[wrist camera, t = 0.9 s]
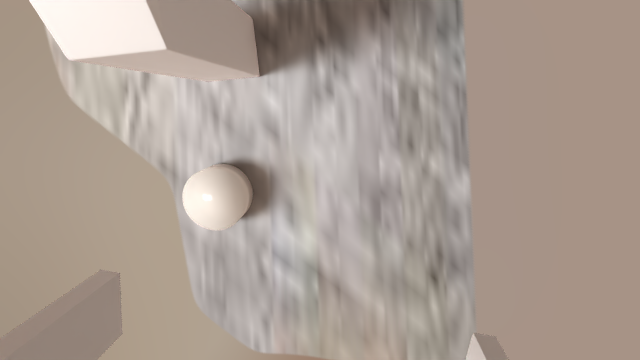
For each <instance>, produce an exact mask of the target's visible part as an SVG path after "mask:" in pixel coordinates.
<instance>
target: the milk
mask: <svg viewBox="0 0 640 360" xmlns="http://www.w3.org/2000/svg"><path fill="white" fill-rule="evenodd" d="M29 1H30V2H31V4H32V5H33V7H34V8H35V10H36V11H37V13H38V14H39V16H40V18H41V19H42V21H43V22H44V24H45V25H46V27H47V28H48V30H49V31H50V33H51V34H52V36H53V37H54V39H55V40H56V42H57V43H58V45H59V46H60V48H61V50H62V51H63V53H64V54H65V56H66V57H67V58H68V59H69V60H71V61H77V62H83V63H90V64H96V65H103V66H109V67H115V68H122V69H128V70H135V71H141V72H148V73H154V74H161V75H167V76H174V77H180V78H187V79H193V80H200V81H206V82H212V81H222V80H232V79H242V78H252V77H259V76H260V74H259V66H258V58H257V49H256V41H255V33H254V25H253V19H252V18H251V17H250V16H249V15H248V14H247V13H246V12H244V11H243V10H242V9H241V8H240V7H239V6H237V5H236V4H235V3H234V2H233V1H232V0H29Z"/></svg>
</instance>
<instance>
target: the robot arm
mask: <svg viewBox="0 0 640 360" xmlns="http://www.w3.org/2000/svg"><path fill="white" fill-rule="evenodd" d="M121 316H122V315H121V291H120V273H117V272H111V271H105V270H100V271H98V272H97V273H95V274H94V275H92V276H91V277H89V278H88V279H86V280H85V281H83V282H82V283H81V284H79V285H78V286H76V287H75V288H73V289H72V290H70V291H69V292H67V293H66V294H64V295H63V296H61V297H60V298H58V299H57V300H56V301H54V302H53V303H51V304H50V305H48V306H47V307H45V308H44V309H42V310H41V311H39V312H38V313H36V314H35V315H34V316H32V317H31V318H29V319H28V320H26V321H25V322H24V323H22V324H20V325H19V326H17V327H16V328H14V329H13V330H12V331H10V332H9V333H7V334H6V335H4V336H3V337H1V338H0V360H97V359H98V358H99V357H100V356H101V355H102V354H103V353H104V352H105V351H106V350H107V349H108V348H109V347H110V346H111V345H112V344H113V343H114V342H115V341H116V340H117V339H118V338H119V337H120V336H121V335H122V317H121ZM466 360H509V359H508V357H507V355H506V354H505V352H504V350H503V348H502V347H501V345H500V343H499V342H498V340H497V338H496V337H495V336H489V335H483V334H477V333H473V335H472V339H471V342H470V346H469V350H468V353H467V357H466Z"/></svg>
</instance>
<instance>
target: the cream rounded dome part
mask: <svg viewBox="0 0 640 360" xmlns="http://www.w3.org/2000/svg"><path fill="white" fill-rule="evenodd" d="M252 200H253V189H252V185H251V183H250V181H249V179H248V177H247V176H246V175H245V174H244V173H243V172H242V171H241V170H240V169H238V168H237V167H235V166H232V165H229V164H216V165H212V166H210V167H208V168H206V169H204V170H202V171H199V172H197V173H195V174H194V175H193V176H191V177H190V178H189V180H188V181H187V182H186V184H185V186H184V190H183V204H184V208H185V210H186V212H187V214H188V215H189V217H190V218H191V219H192V220H193V221H194V222H195V223H196V224H198V225H199V226H201V227H203V228H206V229H209V230H224V229H227V228H229V227H231V226H233V225H234V224H235V223H236V222H237V221H238V220H239V219H240V218H241V217H242V216H243V215H244V214H245V213H246V212H247V211H248V209H249V208H250V206H251V203H252Z"/></svg>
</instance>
